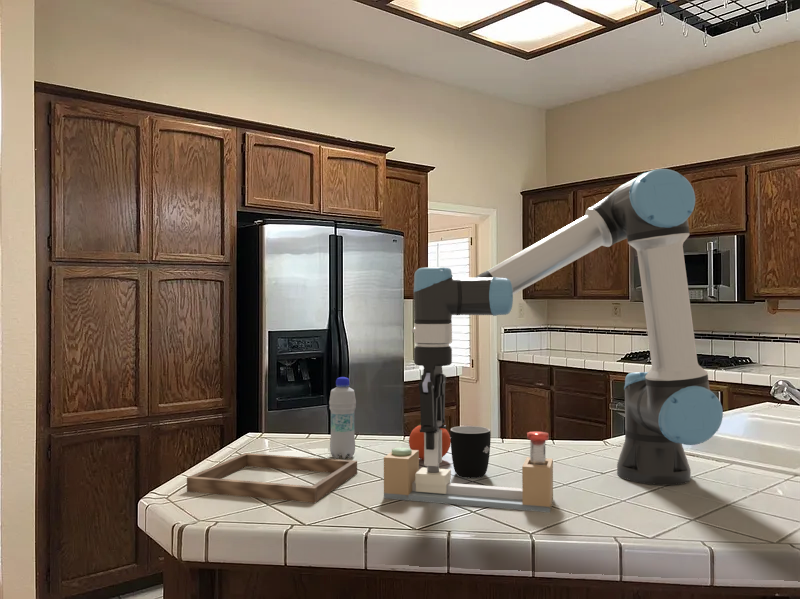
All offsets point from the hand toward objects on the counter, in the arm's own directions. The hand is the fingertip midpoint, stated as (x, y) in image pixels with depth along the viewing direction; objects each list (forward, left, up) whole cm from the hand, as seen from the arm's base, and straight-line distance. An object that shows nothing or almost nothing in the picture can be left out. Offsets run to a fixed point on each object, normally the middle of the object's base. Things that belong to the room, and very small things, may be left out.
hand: (433, 463), depth 132 cm
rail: (-7, 0, -7) cm, 10 cm away
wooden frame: (+35, -1, -7) cm, 36 cm away
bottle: (+30, -27, -7) cm, 41 cm away
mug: (-4, -20, -7) cm, 21 cm away
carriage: (0, 0, -5) cm, 5 cm away
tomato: (+8, -29, -7) cm, 31 cm away
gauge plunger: (-21, 0, -2) cm, 21 cm away
